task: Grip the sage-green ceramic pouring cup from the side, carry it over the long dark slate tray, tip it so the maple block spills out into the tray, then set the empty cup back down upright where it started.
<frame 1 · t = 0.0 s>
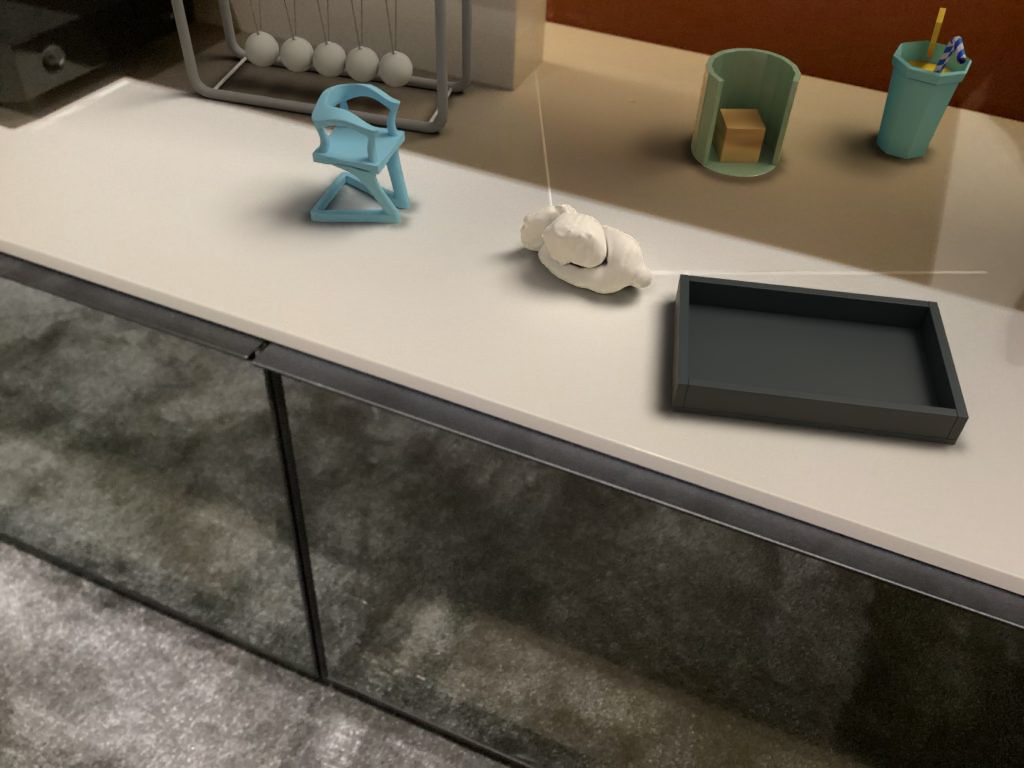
cup: (900, 156, 104), on the table
block: (735, 152, 102), point 1 cm above the table, touching pouring cup
newton's cradle: (333, 96, 109), on the table
baby figurine: (585, 271, 88), on the table
pouring cup: (733, 157, 102), on the table, touching block
tray: (804, 368, 79), on the table
chair: (365, 208, 94), on the table
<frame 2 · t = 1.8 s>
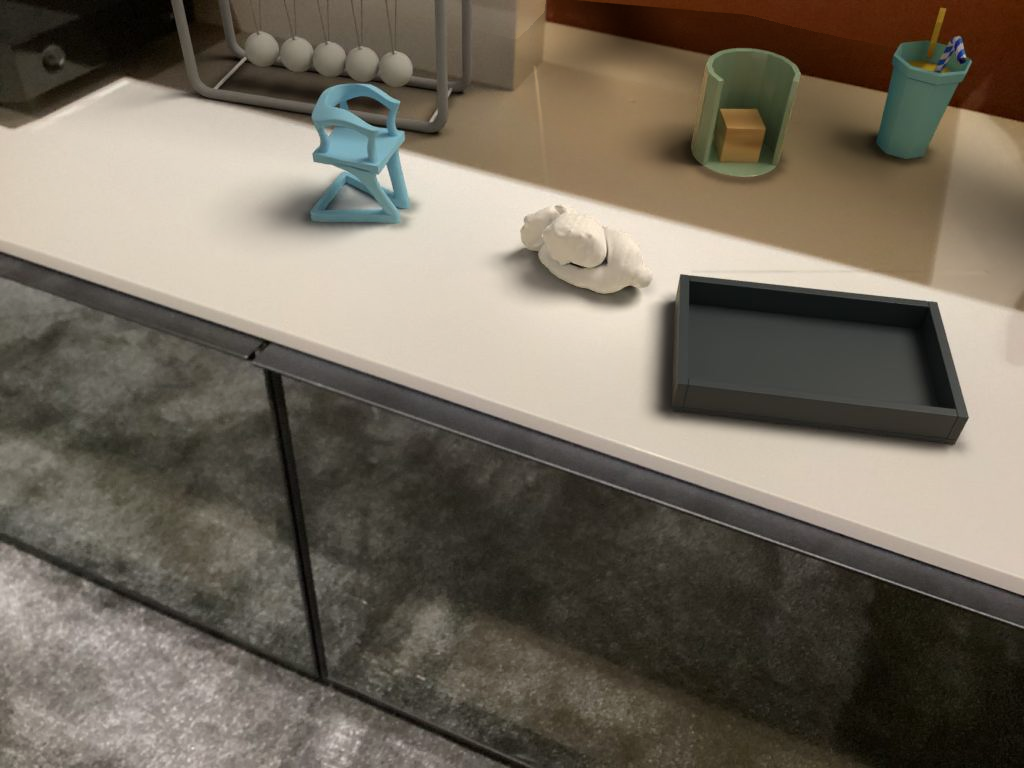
nothing on the table moved.
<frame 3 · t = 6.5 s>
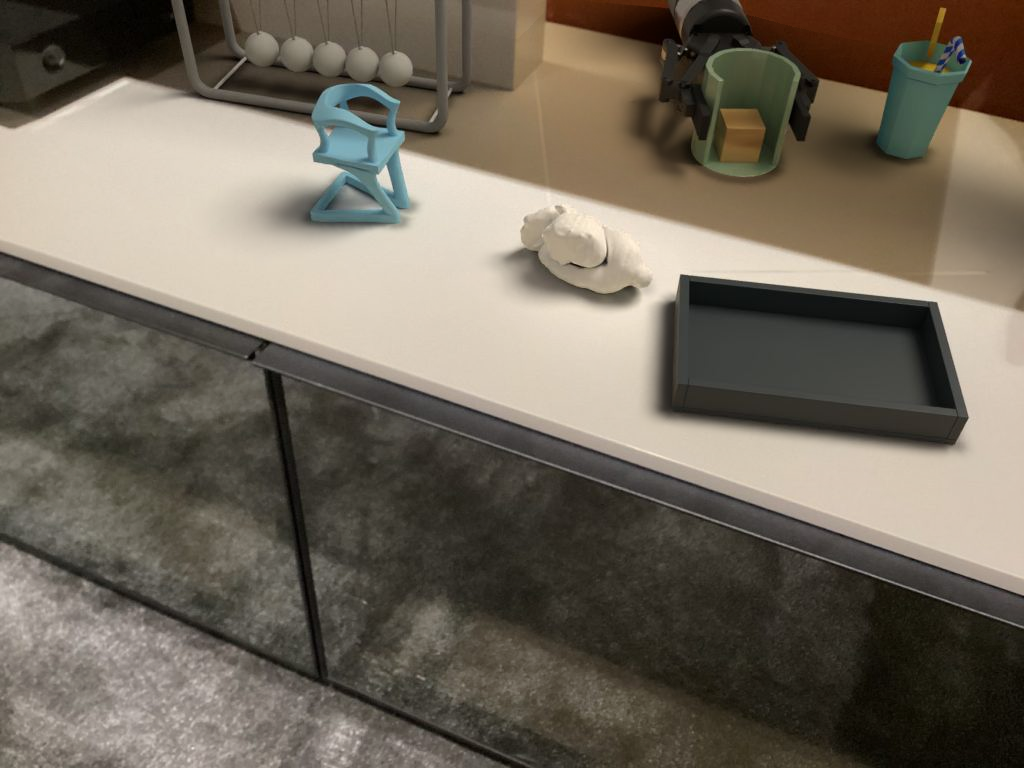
hand: (754, 128, 95), 6 cm above the table, tool horizontal, fingers closed on pouring cup, 9 cm apart
pouring cup: (733, 157, 102), on the table, touching block, gripper
everything else where it was.
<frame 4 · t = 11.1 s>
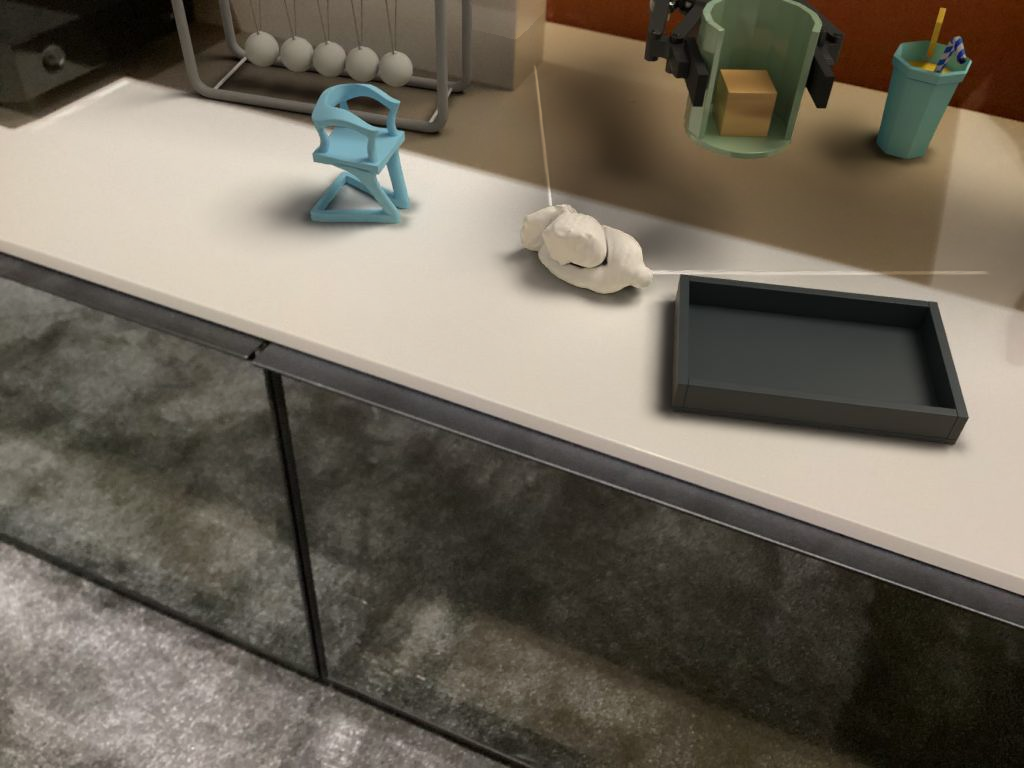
hand: (763, 91, 75), 18 cm above the table, tool horizontal, fingers closed on pouring cup, 9 cm apart
block: (738, 124, 82), point 13 cm above the table, touching pouring cup
pouring cup: (737, 130, 83), point 12 cm above the table, touching block, gripper
everything else where it was.
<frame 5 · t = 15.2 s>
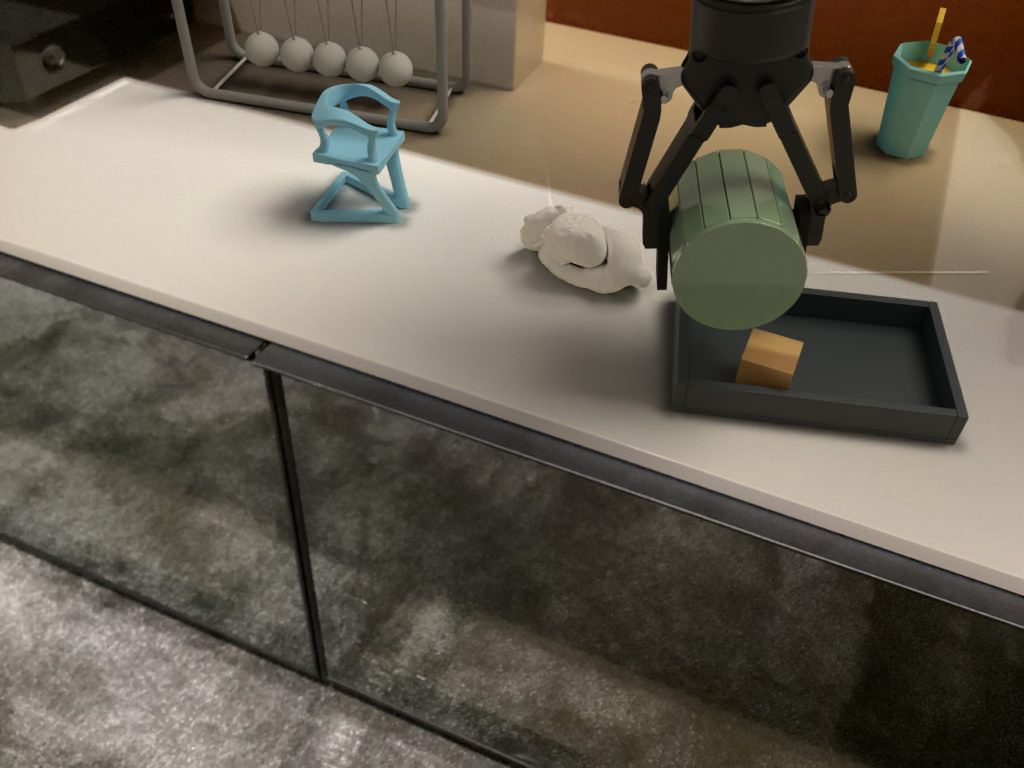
hand: (726, 278, 74), 8 cm above the table, tool pointing down, fingers closed on pouring cup, 9 cm apart
block: (761, 385, 74), point 3 cm above the table, tilted 90°, touching tray
pouring cup: (739, 278, 67), point 13 cm above the table, tilted 93°, touching gripper
everything else where it was.
when the fingers open (6 cm above the table, at t = 26.0 s): pouring cup stays where it is, on the table.
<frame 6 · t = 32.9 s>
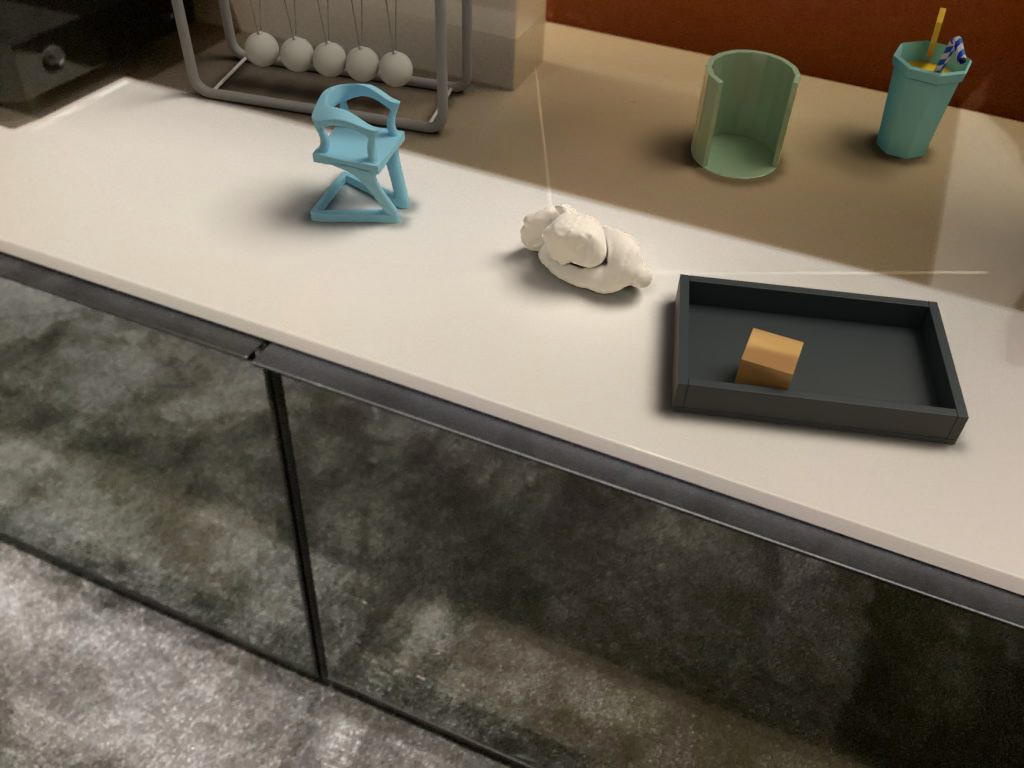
pouring cup: (733, 159, 102), on the table
everything else where it was.
at the end: block inside the target area in the tray (6.9 cm from its centre), point 2.6 cm above the tray's base; pouring cup tilted 0°; the gripper is holding nothing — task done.
